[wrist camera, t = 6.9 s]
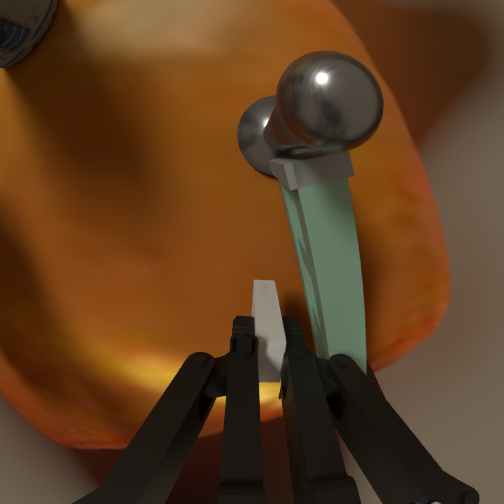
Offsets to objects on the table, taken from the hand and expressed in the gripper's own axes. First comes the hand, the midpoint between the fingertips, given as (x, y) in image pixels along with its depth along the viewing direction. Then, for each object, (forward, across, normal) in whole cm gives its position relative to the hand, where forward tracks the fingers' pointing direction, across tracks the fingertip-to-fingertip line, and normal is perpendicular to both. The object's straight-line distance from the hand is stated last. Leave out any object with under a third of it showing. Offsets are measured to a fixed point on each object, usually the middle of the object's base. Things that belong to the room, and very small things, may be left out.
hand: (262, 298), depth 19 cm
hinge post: (+4, +1, +11) cm, 12 cm away
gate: (+3, +4, +1) cm, 5 cm away
